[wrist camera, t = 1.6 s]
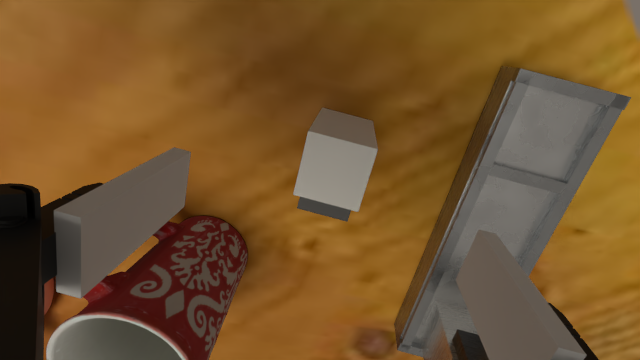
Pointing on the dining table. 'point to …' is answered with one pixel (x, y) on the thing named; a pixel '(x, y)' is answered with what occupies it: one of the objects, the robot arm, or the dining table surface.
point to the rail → (504, 198)
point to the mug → (160, 299)
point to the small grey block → (336, 164)
